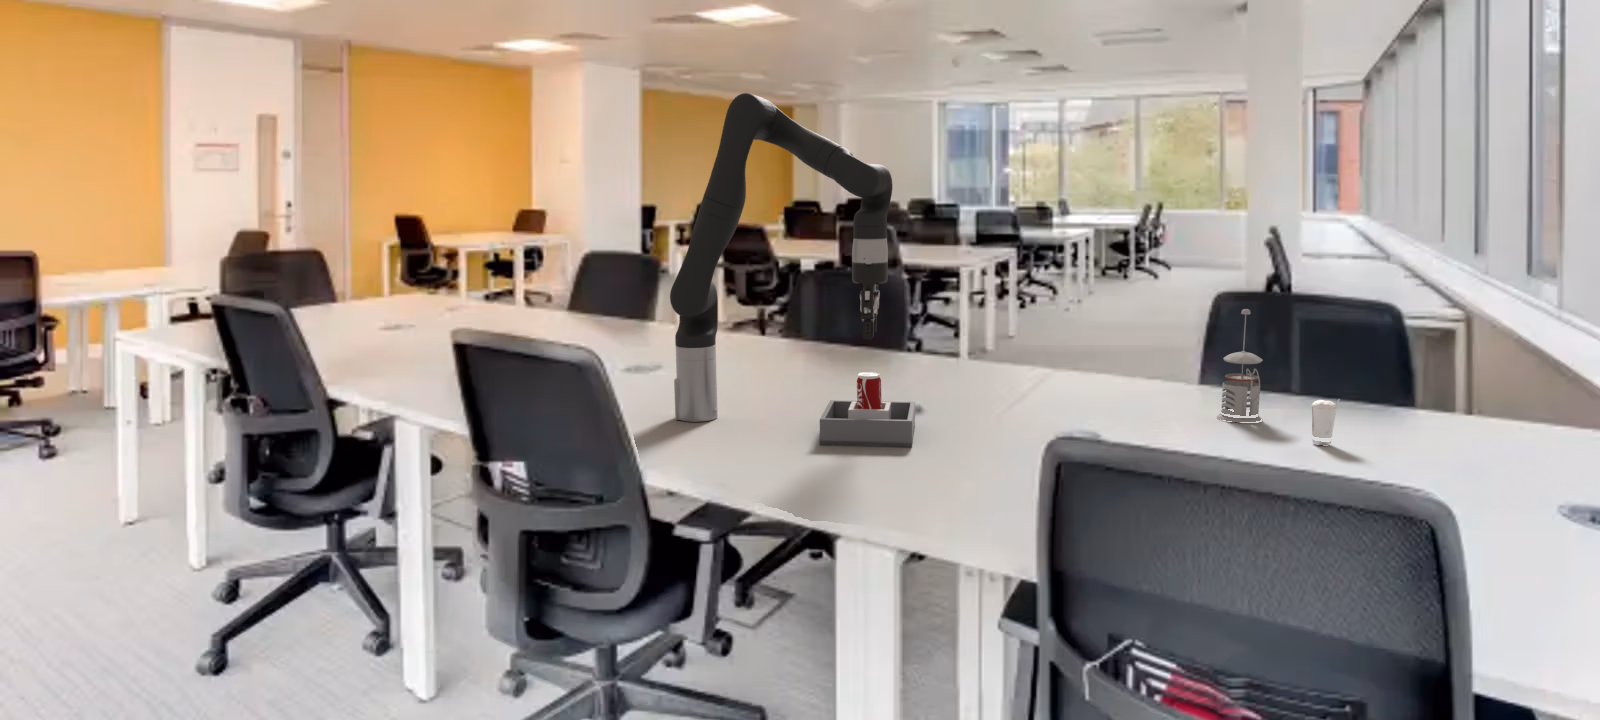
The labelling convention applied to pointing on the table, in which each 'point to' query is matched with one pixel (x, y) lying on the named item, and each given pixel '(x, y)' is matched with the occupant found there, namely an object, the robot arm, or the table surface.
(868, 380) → the soda can
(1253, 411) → the french press
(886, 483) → the table surface
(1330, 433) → the milkshake
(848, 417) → the box
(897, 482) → the table surface
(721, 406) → the table surface
